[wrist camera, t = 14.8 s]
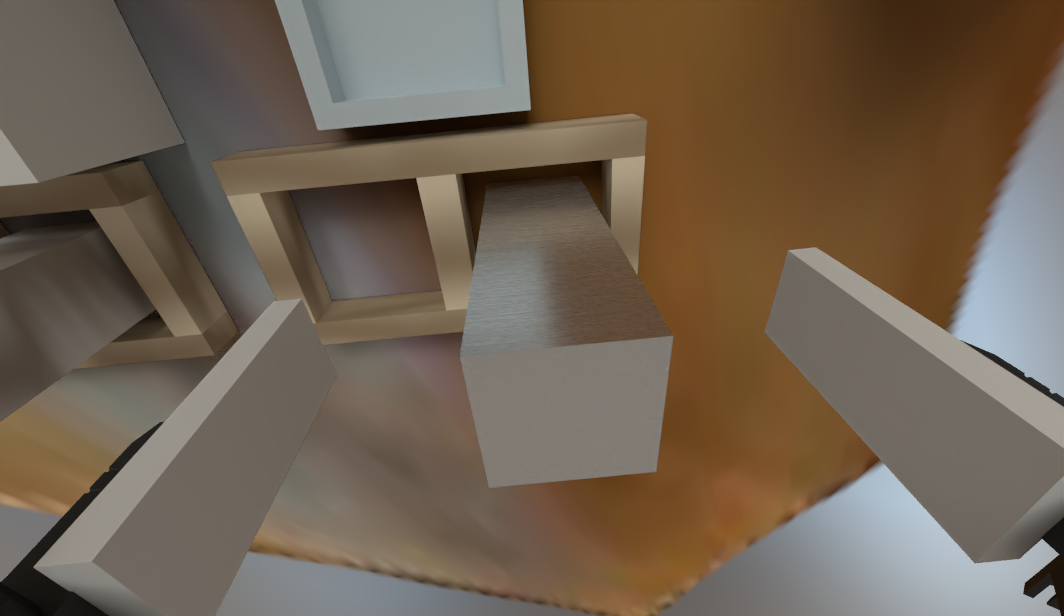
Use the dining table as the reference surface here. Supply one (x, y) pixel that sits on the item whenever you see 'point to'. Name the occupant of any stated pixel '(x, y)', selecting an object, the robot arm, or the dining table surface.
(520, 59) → the tote
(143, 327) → the pallet
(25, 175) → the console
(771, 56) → the dining table surface
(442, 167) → the pallet
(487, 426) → the block
